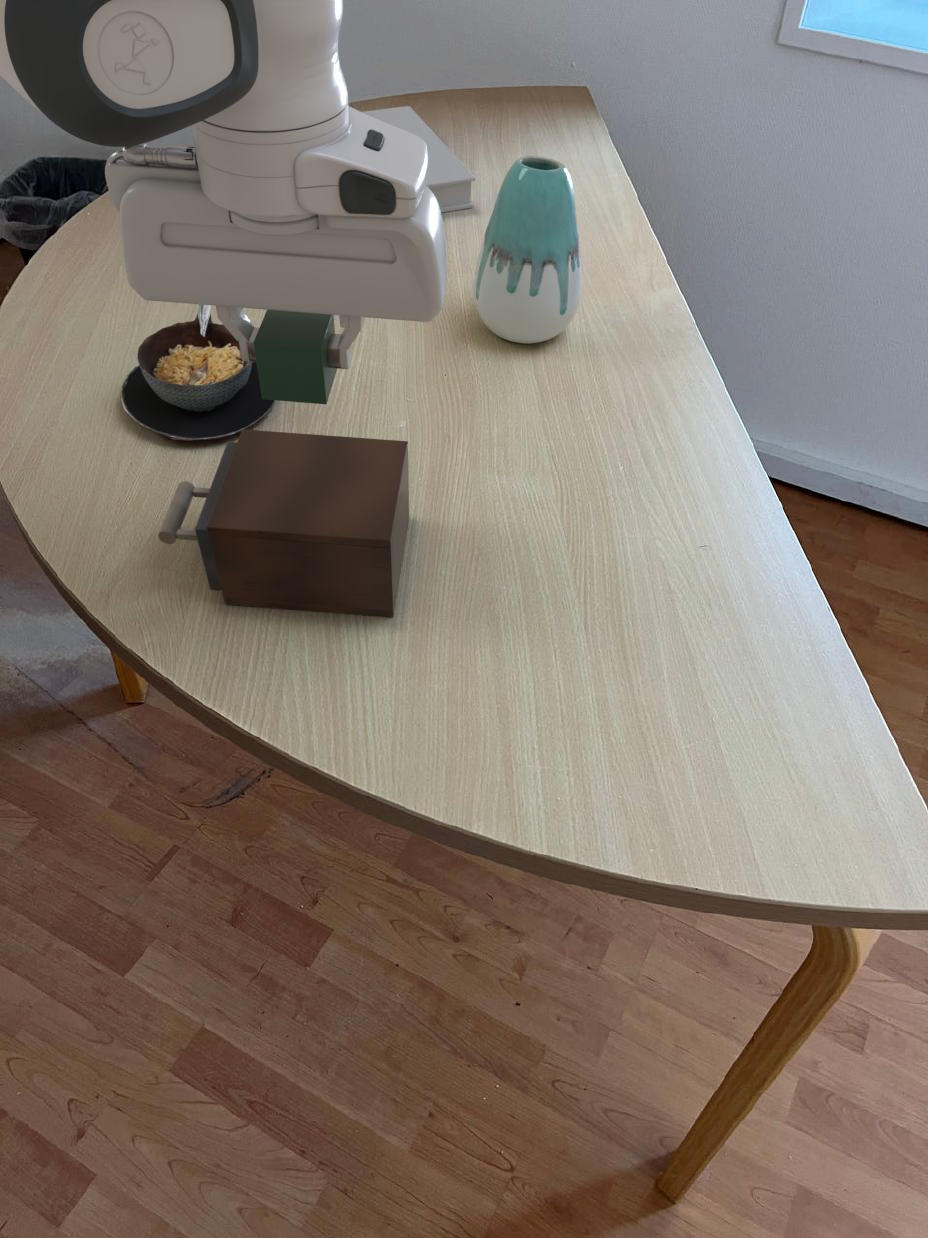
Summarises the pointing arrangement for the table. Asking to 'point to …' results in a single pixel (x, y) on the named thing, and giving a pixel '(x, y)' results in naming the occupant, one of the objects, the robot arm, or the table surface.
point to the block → (294, 356)
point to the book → (434, 160)
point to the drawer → (180, 507)
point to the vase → (530, 254)
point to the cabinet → (312, 523)
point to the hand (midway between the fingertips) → (298, 360)
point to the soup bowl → (194, 382)
